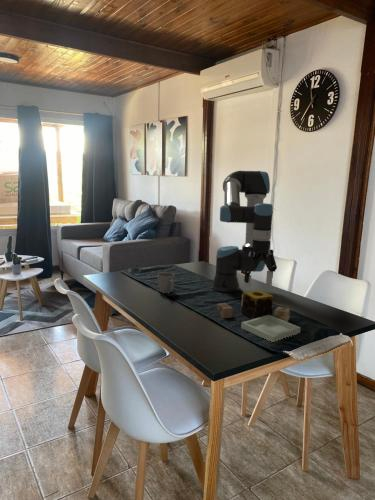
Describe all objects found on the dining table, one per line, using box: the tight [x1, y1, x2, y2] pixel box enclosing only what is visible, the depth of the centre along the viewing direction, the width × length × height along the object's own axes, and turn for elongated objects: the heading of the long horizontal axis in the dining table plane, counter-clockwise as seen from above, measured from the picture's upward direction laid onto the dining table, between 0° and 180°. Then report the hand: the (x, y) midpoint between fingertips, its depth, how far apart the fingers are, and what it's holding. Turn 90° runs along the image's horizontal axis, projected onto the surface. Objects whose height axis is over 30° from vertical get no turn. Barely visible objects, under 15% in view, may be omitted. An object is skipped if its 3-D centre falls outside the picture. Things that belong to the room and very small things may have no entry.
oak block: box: [273, 306, 291, 322], centre depth 160 cm, size 5×5×5 cm
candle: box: [240, 289, 274, 320], centre depth 164 cm, size 10×10×10 cm
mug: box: [157, 271, 175, 294], centre depth 193 cm, size 12×9×10 cm
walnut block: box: [216, 302, 234, 319], centre depth 164 cm, size 7×4×4 cm, turn 19°
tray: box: [240, 315, 301, 343], centre depth 149 cm, size 16×16×2 cm
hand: (258, 287), depth 163 cm, fingers open, 13 cm apart
